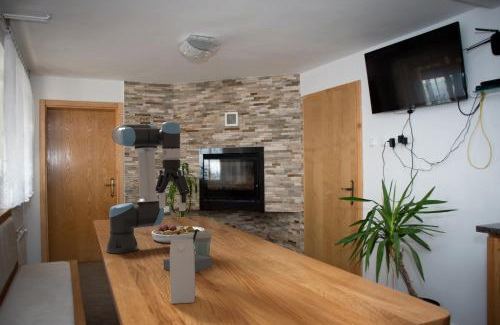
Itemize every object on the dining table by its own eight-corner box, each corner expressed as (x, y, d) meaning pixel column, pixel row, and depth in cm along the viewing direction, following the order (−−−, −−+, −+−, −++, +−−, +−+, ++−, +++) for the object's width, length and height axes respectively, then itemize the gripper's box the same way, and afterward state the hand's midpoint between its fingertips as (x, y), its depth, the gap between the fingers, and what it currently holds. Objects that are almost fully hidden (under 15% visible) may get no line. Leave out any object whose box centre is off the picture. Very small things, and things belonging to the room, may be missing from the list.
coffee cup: (208, 261, 169) (208, 234, 169) (190, 261, 170) (189, 233, 170) (214, 256, 177) (213, 230, 177) (196, 256, 179) (196, 230, 179)
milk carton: (173, 296, 125) (171, 238, 125) (195, 295, 126) (194, 237, 126) (170, 304, 118) (169, 242, 118) (194, 303, 119) (192, 241, 119)
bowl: (215, 236, 227) (214, 223, 228) (180, 246, 202) (179, 231, 202) (177, 232, 244) (177, 220, 244) (140, 241, 218) (140, 227, 218)
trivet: (163, 269, 158) (163, 258, 158) (190, 262, 168) (190, 252, 168) (184, 275, 149) (184, 264, 149) (211, 267, 159) (211, 257, 159)
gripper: (146, 159, 168) (147, 207, 168) (183, 159, 151) (184, 213, 152) (161, 158, 173) (161, 205, 174) (197, 159, 157) (198, 210, 157)
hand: (172, 209), depth 163 cm, fingers open, 13 cm apart
